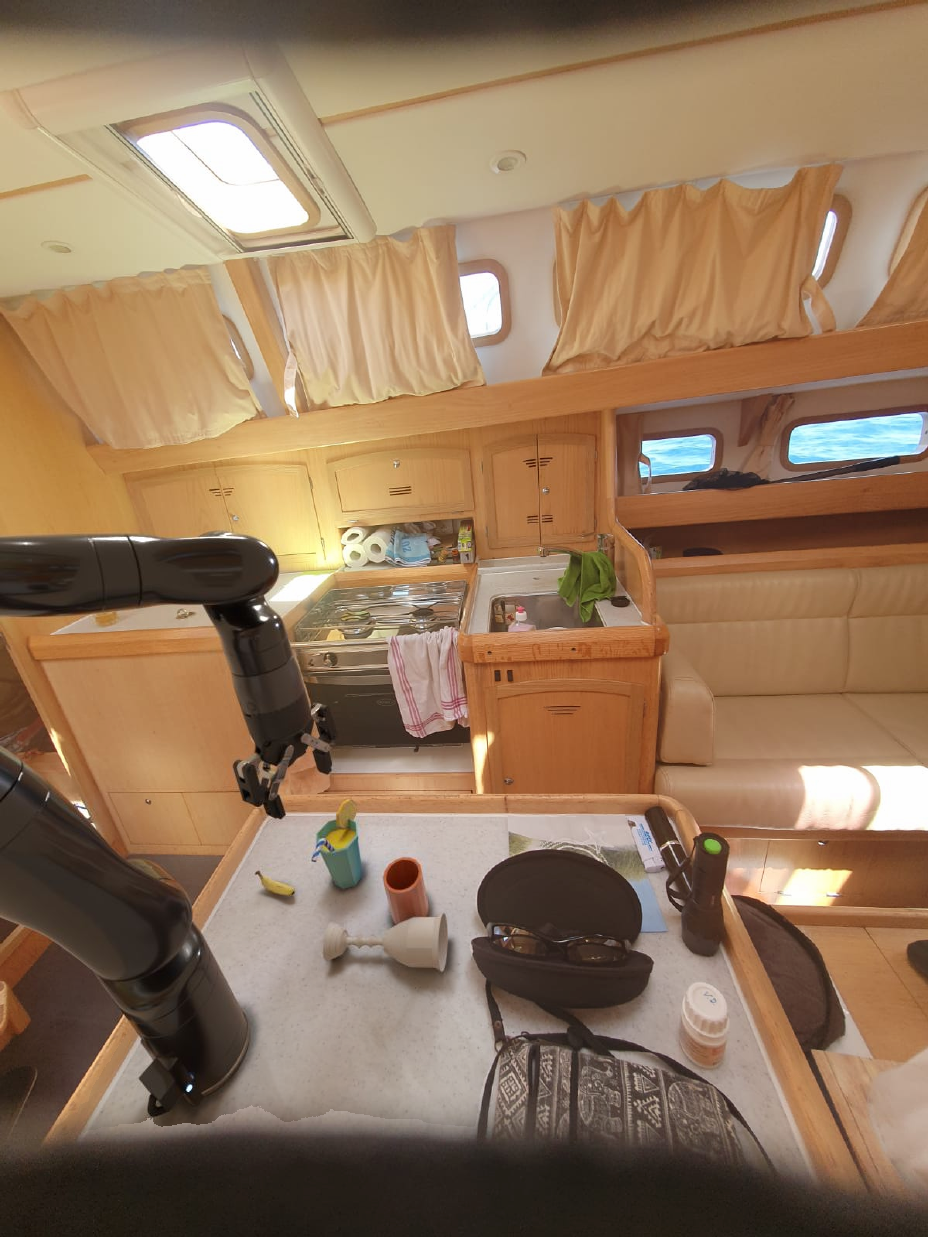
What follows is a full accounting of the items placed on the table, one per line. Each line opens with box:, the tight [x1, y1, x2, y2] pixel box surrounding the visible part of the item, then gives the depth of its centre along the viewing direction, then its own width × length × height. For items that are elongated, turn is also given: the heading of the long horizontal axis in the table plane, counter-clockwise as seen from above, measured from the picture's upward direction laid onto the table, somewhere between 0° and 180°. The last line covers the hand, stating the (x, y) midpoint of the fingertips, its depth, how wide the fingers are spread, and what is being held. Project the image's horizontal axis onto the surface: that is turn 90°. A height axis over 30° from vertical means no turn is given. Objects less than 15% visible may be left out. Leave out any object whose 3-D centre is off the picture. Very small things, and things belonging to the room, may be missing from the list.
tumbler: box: [382, 856, 429, 925], centre depth 74 cm, size 6×6×9 cm
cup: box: [311, 798, 363, 890], centre depth 79 cm, size 14×8×15 cm, turn 173°
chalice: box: [322, 912, 449, 973], centre depth 69 cm, size 7×7×18 cm
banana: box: [254, 870, 296, 897], centre depth 80 cm, size 8×2×4 cm, turn 69°
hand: (303, 792), depth 62 cm, fingers open, 8 cm apart
